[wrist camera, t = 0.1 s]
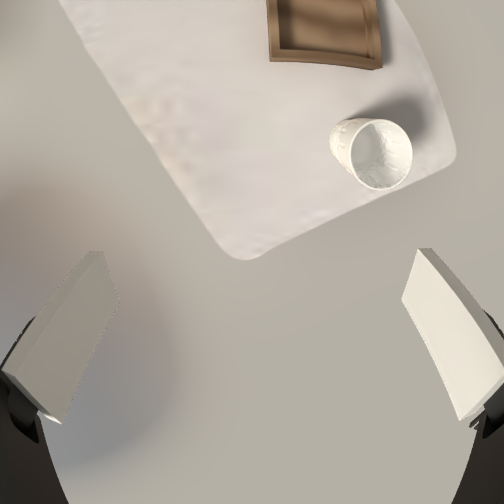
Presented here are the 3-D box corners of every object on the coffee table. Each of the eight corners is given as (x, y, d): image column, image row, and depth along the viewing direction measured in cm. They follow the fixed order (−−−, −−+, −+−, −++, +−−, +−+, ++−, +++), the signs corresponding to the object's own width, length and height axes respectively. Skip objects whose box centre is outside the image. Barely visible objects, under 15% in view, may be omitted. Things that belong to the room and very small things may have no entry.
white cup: (382, 160, 34) (418, 179, 26) (335, 176, 36) (360, 199, 27) (367, 109, 31) (403, 112, 22) (316, 124, 32) (339, 129, 24)
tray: (264, -21, 21) (265, -32, 18) (363, -10, 21) (372, -18, 18) (269, 61, 28) (271, 56, 25) (371, 70, 28) (382, 67, 25)
